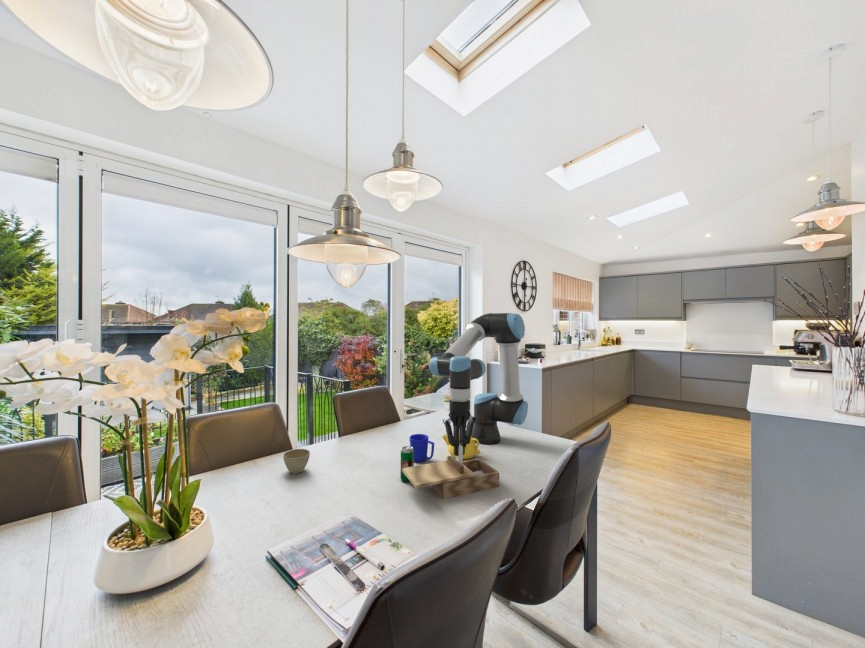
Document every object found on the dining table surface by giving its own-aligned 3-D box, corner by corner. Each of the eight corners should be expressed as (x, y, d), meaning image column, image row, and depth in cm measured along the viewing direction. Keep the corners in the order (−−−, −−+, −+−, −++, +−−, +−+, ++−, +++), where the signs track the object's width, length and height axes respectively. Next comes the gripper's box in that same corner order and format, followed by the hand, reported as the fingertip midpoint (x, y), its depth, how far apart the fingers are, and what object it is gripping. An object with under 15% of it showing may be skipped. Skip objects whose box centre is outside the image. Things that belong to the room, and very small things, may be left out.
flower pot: (280, 477, 135) (280, 459, 135) (285, 466, 145) (286, 449, 144) (308, 475, 137) (308, 457, 137) (311, 465, 147) (311, 447, 146)
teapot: (470, 449, 165) (470, 426, 165) (483, 460, 153) (483, 435, 152) (441, 453, 161) (441, 429, 161) (452, 465, 148) (452, 438, 148)
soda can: (408, 475, 138) (408, 444, 138) (416, 479, 134) (416, 448, 134) (397, 479, 134) (397, 447, 134) (406, 483, 131) (406, 451, 130)
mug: (427, 467, 145) (427, 443, 145) (405, 460, 152) (405, 437, 152) (439, 461, 151) (439, 438, 151) (417, 454, 159) (417, 432, 159)
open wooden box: (478, 473, 140) (478, 458, 140) (499, 489, 127) (499, 472, 127) (427, 483, 131) (427, 467, 131) (444, 501, 118) (444, 483, 118)
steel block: (480, 478, 134) (480, 470, 134) (485, 481, 131) (485, 473, 131) (469, 480, 132) (469, 472, 132) (473, 484, 129) (473, 475, 129)
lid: (456, 461, 136) (456, 452, 136) (474, 476, 123) (474, 466, 123) (401, 471, 127) (401, 461, 127) (415, 488, 114) (416, 477, 114)
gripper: (470, 395, 134) (469, 457, 134) (439, 398, 129) (438, 462, 129) (480, 399, 127) (480, 465, 128) (448, 403, 122) (447, 471, 122)
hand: (459, 463), depth 128 cm, fingers closed
